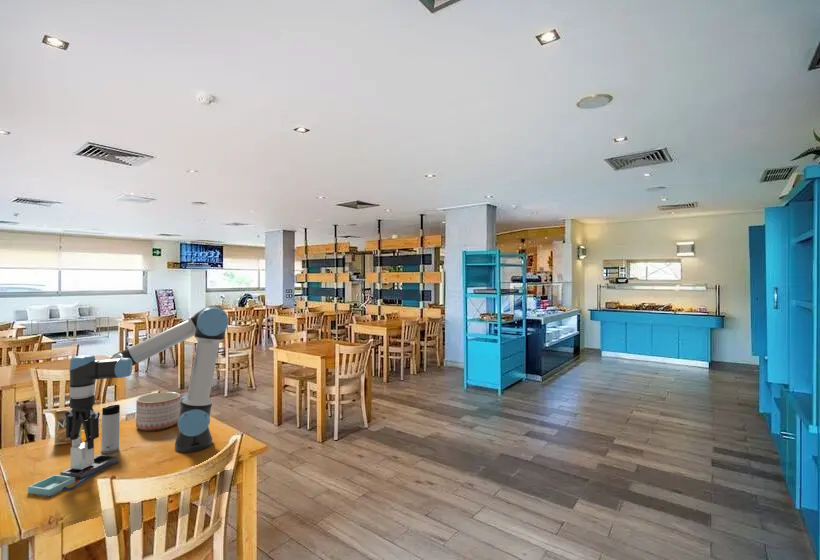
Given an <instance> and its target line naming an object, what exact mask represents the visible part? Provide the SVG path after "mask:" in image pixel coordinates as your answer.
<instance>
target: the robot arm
mask: <svg viewBox="0 0 820 560" xmlns="http://www.w3.org/2000/svg"><path fill="white" fill-rule="evenodd" d="M228 326H229V315H228V314H227V312H226V311H225V310H224V309H223V308H221V307H220V306H218V305H208V306H206V307H205V306H204V308H202V309H201V310H199V311H197V313H195V314H192V315H190V316H189V317H188V319H187V320H184V321H183V322H181V323H178V324H176V325H175V326H172V327H170V328H169V329H166V330H164V331H162V332H160V333H157V334H156V335H154V336H151V337H149V338H147V339H145V340H143V341H141V342H139V343H137V344H134V345H132V346H131V347H128V348H126V349H125V350H124V349H123V350H122V351H119V352H116V353H114V354H113V355H112V356H111V357H110V358H107V359H105V358H104V359H96V356H95V354H94V355H93V354H82V355H75V356H73V357H71V358H70V362H69V369H68V370H69V397H70V398H69V408H72V410H71V411H68V412H65V416H66V437H67V438H68V437H69V438H70V439H71V443H70V445H71V446H70V448H71V447H73V446H76V445H78V444H81V443H82V442H81V440H82V437H81V438H77V437H80V435H79V432H80V428H81V423H82V426H83V430H84V436H85V440H83V441H84V458H85V459H86V458H88V457H91V456H93V447H94V448H95V443H94V442H95V439H98V438H99V437H100V423H99V422H100V421H99V420H100V419H99V418H100V415H101V413H100V412H99V411H97V412H95V411H94V408H93V407H94V405H95V403H96V401H95V400H96V398H95V397H96V396H95V393H96V392H95V387H96V384H95V383H96V382H95V381H96V380H106V379H122V378H127V377H130V376H131V375H132V372H133V367H134V366H136V365H137V364H139V363H141V362H143V361H145V360H147V359H149V358H151V357H154V356H155V355H158V354H159V353H161V352H164V351H166V350H167V349H168V350H169V348H171V347H174V346H176V345H178V344H180V343H182V342H184V341H186V340H189V339H190V338H192V337H194V338H195V340H196V341H197V343H196V347H195V353H194V357H193V358H194V359H193V365H192V367H191V368H192V369H191V374H190V380H189V385H188V388H187V389H188V391H187V395H184V396H182V397H180V414H179V419H178V423H176V425H177V428H178V430H179V431H178V434H177V436H176V439H175V442H174V450H175V451H176V452H179V453H193V452H194V453H195V452H198V451H202V450H205V449H207V448H209V447H211V445H213V437H212V434H211V431H210V428H209V426H210V422H211V417H210V416H211V411H212V406H213V400H212V399H211V398H210V397H211V396H210V395H211V390H212V384H213V380H214V374H215V368H216V365H217V364H216V363H217V357H218V354H219V353H218V352H219V349H220V348H219V347H220V343H221V342H223V341H224V340H225V335H226V331H227V327H228Z"/></svg>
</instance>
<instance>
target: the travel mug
mask: <svg viewBox="0 0 820 560" xmlns="http://www.w3.org/2000/svg"><path fill="white" fill-rule="evenodd" d="M120 410H121V406H120V404H113V405H107V406H106V407H102V411H101V412H102V413H101V445H100V447H101V448H100V449H101V450H100V452H101V454H102V455H108V454H112V453H116V452H118V451H119V450H120V426H121V425H120V419H121V416H120V414H121V411H120Z"/></svg>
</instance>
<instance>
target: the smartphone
mask: <svg viewBox="0 0 820 560" xmlns="http://www.w3.org/2000/svg"><path fill="white" fill-rule="evenodd" d="M83 471H85V470H81V471H79V472H77V473H81V472H83ZM97 474H99V473H98V472H96V473H94V474H92V475H90V476H88V477H85V478H83V479H81V480H77V479H75V483H73V484H70V485H68V486H66V487H64V488H63V490H62V491H72V490H74V489H76V488H77V487H79V486H80V485H82V484H83V483H85V482H86V481H89V479H91V478H92V477H94V476H95V475H97ZM60 483H63V482H60ZM60 483H58V484H60ZM58 484H57V485H58ZM55 486H56V485H55ZM53 487H54V486H53Z"/></svg>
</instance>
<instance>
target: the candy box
mask: <svg viewBox="0 0 820 560" xmlns="http://www.w3.org/2000/svg"><path fill="white" fill-rule="evenodd" d="M71 410H72V408H70V407H67V408H59V409H57V410H56V411H55V413H54V414H55V420H54V424H55V425H54V445H55V446H57V445H67V444H71V439H70V438H69V437H68V438H67V437H66V416H65V412H68V411H71ZM82 426H83V424H82V423H81V428H80V432H79V435H80V437H77V438H81V439H82V429H83V428H82Z"/></svg>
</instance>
